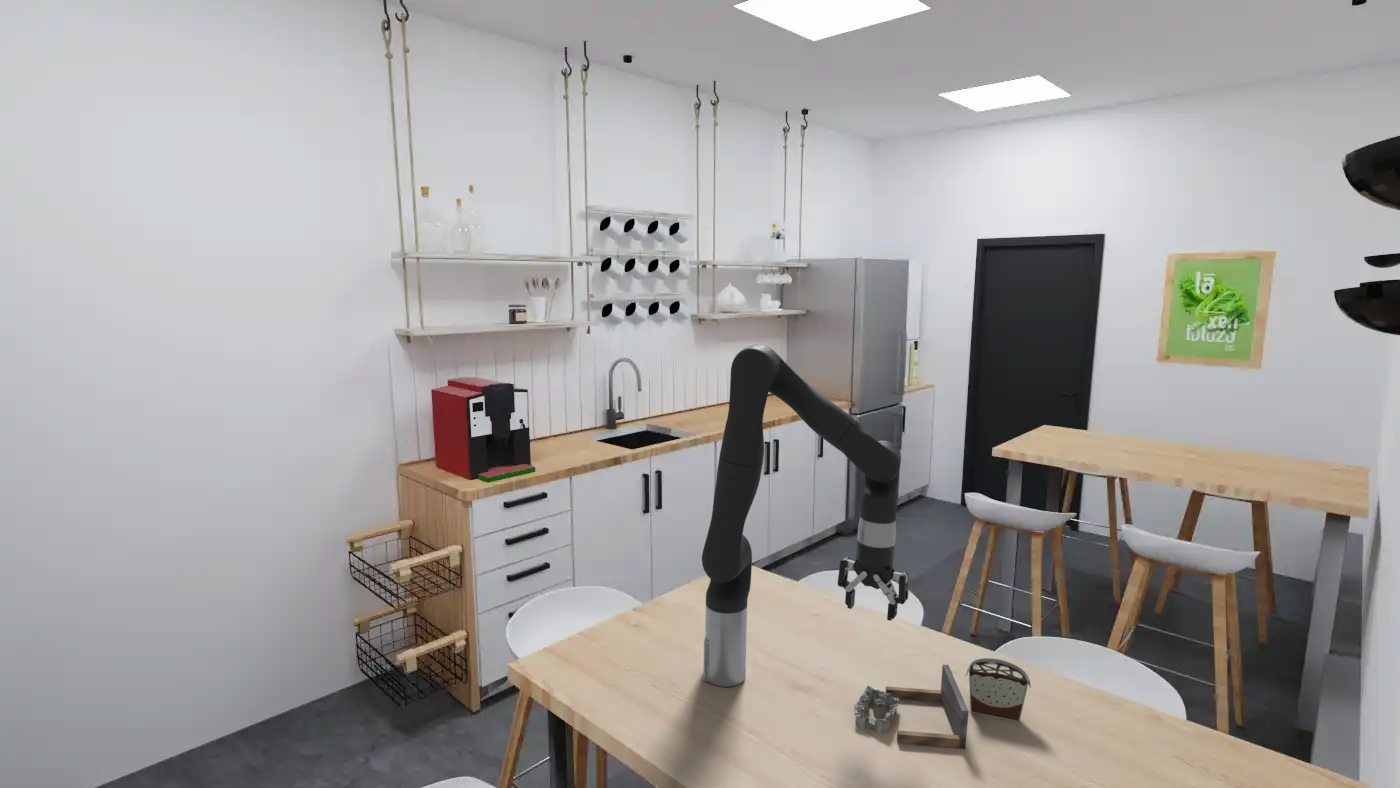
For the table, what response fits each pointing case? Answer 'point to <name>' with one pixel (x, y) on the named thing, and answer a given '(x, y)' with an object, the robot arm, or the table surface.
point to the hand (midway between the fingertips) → (870, 613)
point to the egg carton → (876, 709)
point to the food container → (997, 688)
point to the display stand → (951, 705)
